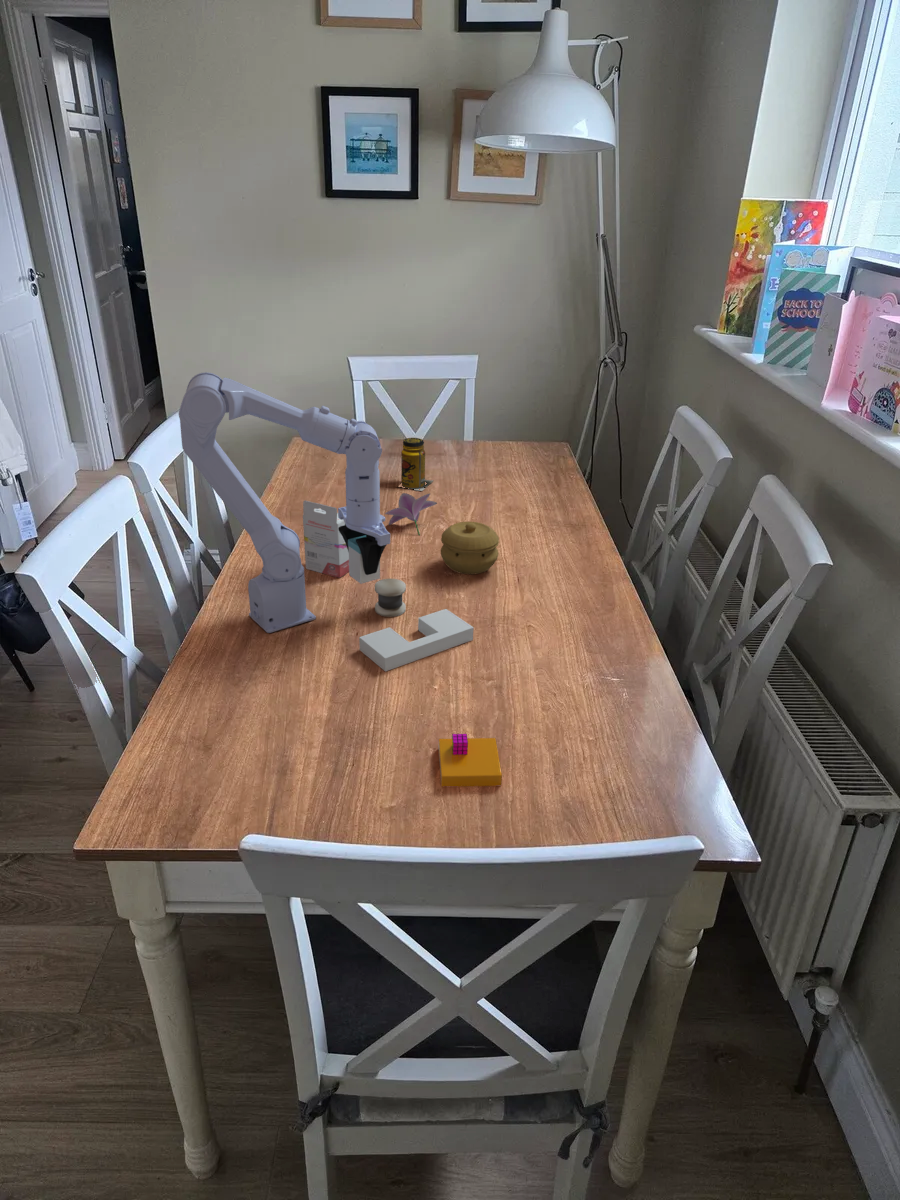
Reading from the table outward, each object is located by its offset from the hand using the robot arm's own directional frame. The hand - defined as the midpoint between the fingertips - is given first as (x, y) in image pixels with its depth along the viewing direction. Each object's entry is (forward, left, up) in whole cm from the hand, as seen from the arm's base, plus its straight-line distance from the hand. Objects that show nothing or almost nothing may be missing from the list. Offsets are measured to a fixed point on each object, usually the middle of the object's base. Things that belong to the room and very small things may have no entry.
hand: (364, 568), depth 144 cm
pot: (+27, +4, -9) cm, 29 cm away
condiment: (+46, +51, -9) cm, 70 cm away
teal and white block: (0, 0, -2) cm, 2 cm away
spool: (+4, -2, -9) cm, 10 cm away
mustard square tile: (-11, -45, -10) cm, 47 cm away
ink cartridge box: (+3, +19, -9) cm, 21 cm away
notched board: (+1, -15, -9) cm, 17 cm away
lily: (+29, +28, -9) cm, 41 cm away
